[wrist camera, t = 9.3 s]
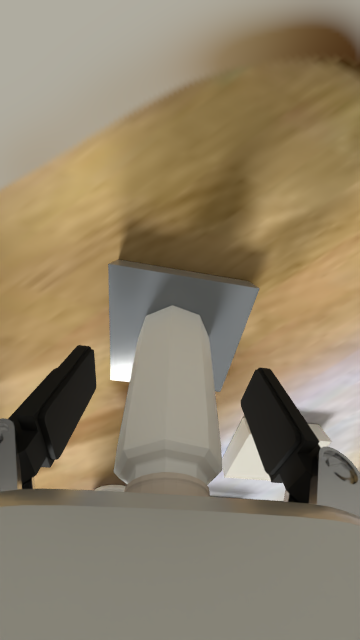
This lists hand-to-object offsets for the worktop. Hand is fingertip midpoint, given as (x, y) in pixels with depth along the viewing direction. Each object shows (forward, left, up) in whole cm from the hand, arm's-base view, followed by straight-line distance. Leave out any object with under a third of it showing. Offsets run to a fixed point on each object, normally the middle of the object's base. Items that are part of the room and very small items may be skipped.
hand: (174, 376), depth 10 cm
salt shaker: (0, 0, -4) cm, 4 cm away
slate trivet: (0, 0, -6) cm, 6 cm away
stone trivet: (+15, -16, -6) cm, 23 cm away
